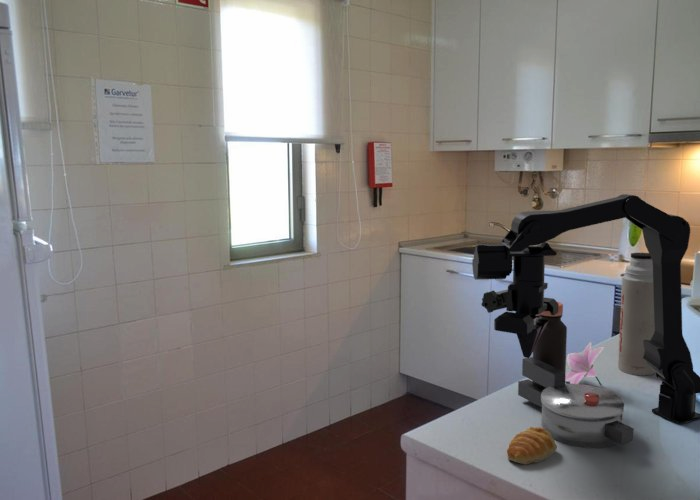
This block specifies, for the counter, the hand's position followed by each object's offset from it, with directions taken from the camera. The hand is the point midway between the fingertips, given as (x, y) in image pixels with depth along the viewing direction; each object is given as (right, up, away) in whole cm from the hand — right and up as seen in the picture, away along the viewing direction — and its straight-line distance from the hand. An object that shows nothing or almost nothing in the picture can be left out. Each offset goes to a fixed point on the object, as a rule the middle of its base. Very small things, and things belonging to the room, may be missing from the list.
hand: (526, 357), depth 115 cm
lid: (+7, -7, -1) cm, 10 cm away
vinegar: (+9, -10, +13) cm, 19 cm away
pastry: (-3, -15, -12) cm, 19 cm away
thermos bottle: (+34, -8, +26) cm, 43 cm away
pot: (+8, -13, -1) cm, 15 cm away
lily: (+18, -10, +17) cm, 26 cm away
